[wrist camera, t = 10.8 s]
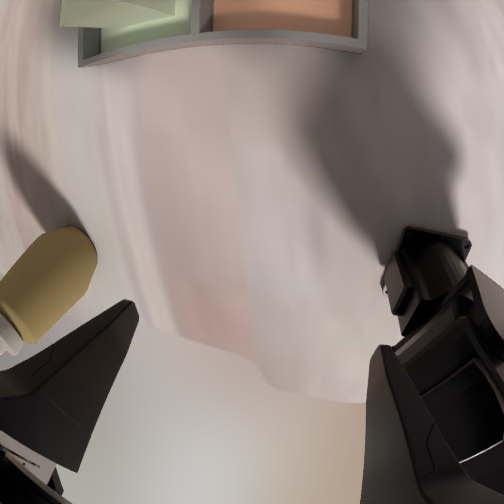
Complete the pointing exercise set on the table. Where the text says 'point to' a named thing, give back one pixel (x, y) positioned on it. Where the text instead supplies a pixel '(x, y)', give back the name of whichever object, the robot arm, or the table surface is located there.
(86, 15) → the sage block
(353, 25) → the board
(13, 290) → the squeeze bottle
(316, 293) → the table surface
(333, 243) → the table surface
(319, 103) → the table surface
